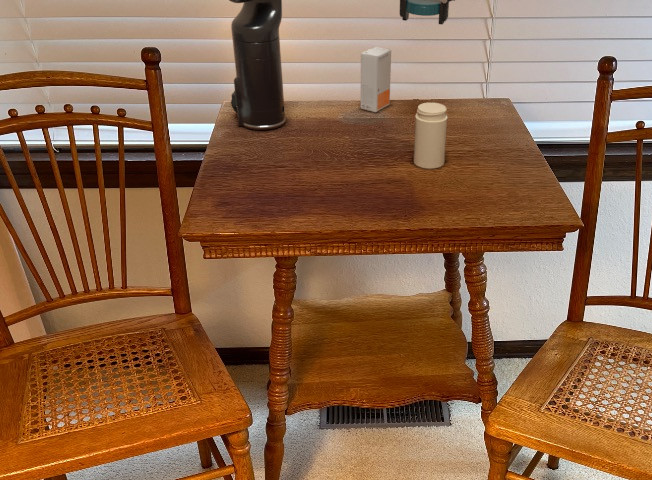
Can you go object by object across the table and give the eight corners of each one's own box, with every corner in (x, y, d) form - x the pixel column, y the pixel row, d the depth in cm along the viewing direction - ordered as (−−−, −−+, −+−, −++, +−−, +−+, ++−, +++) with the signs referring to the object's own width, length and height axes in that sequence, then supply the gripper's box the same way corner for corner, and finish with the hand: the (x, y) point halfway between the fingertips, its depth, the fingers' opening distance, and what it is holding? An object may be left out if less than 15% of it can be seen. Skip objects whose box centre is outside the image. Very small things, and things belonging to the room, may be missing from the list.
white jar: (412, 167, 143) (414, 112, 136) (414, 154, 148) (416, 100, 141) (443, 169, 143) (447, 114, 136) (445, 156, 147) (448, 102, 140)
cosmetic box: (376, 113, 164) (376, 56, 157) (360, 109, 166) (359, 52, 158) (390, 105, 168) (392, 49, 161) (374, 101, 170) (375, 45, 162)
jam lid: (444, 9, 144) (445, -2, 142) (436, 17, 139) (437, 6, 137) (411, 6, 145) (412, -5, 144) (402, 13, 140) (402, 2, 139)
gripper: (383, -80, 131) (381, 22, 142) (464, -74, 128) (456, 30, 139) (395, -86, 136) (392, 12, 147) (472, -81, 134) (464, 20, 144)
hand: (423, 21), depth 143 cm, fingers closed on jam lid, 6 cm apart
